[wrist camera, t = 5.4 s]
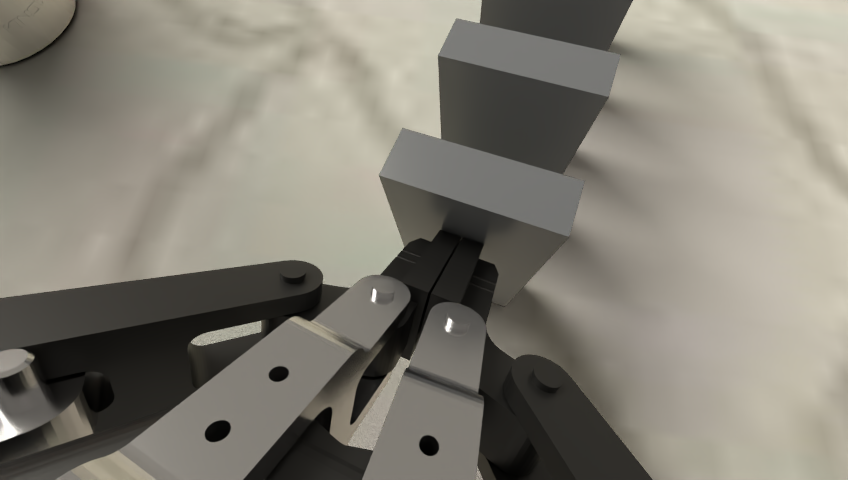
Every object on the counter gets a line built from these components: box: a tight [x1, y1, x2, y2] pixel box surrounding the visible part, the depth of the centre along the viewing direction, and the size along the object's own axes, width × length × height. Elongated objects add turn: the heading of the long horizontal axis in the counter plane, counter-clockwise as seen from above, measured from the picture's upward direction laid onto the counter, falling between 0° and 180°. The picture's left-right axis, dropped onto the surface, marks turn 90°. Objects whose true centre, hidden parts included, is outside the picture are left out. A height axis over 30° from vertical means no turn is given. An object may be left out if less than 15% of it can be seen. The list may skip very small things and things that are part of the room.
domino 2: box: [438, 18, 621, 174], centre depth 15 cm, size 5×2×10 cm, turn 68°
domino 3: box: [379, 128, 585, 307], centre depth 14 cm, size 5×2×10 cm, turn 68°
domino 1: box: [480, 0, 633, 51], centre depth 16 cm, size 5×2×10 cm, turn 68°
